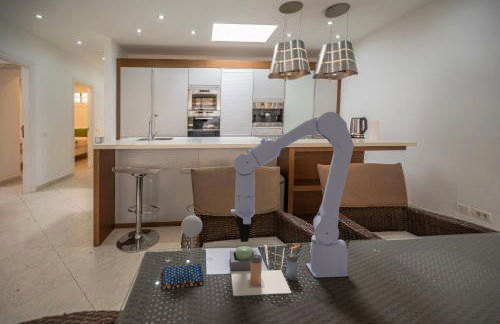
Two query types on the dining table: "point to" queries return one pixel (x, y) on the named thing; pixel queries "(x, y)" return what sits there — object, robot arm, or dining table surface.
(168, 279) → the woven mat
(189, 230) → the lollipop
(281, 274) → the paper
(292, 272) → the marker slate
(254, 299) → the dining table surface
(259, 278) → the marker terracotta
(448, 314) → the dining table surface
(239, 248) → the button
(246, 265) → the button housing
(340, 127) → the robot arm
